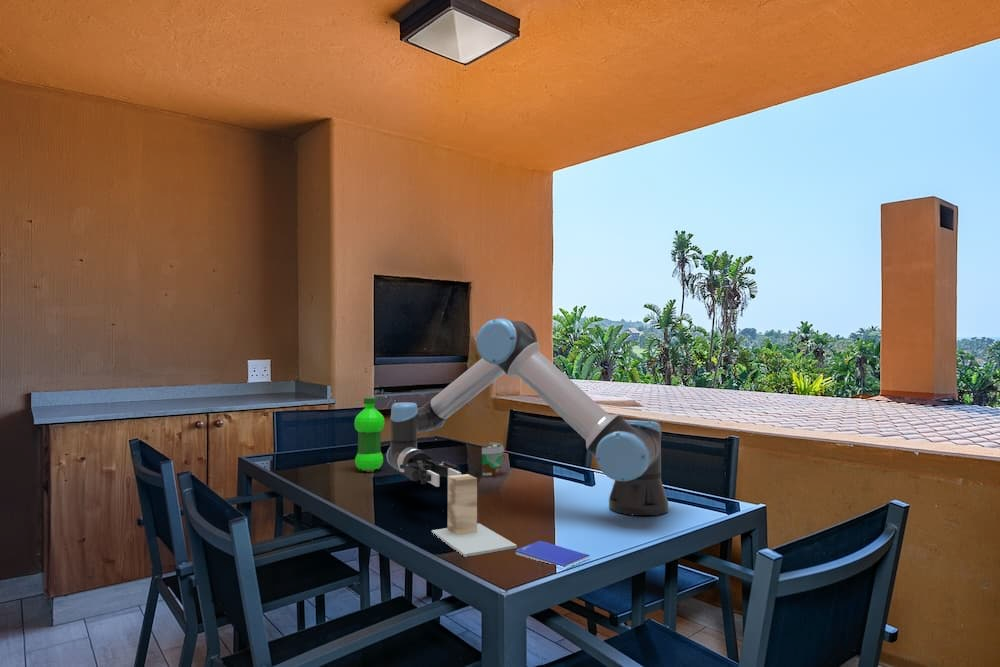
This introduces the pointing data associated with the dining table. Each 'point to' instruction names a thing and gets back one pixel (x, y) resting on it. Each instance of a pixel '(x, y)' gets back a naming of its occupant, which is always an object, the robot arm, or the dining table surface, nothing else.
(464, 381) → the robot arm
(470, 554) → the rubber mat
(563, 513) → the dining table surface
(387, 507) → the dining table surface
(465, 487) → the birch block
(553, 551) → the hard drive
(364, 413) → the plastic bottle
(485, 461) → the food container
